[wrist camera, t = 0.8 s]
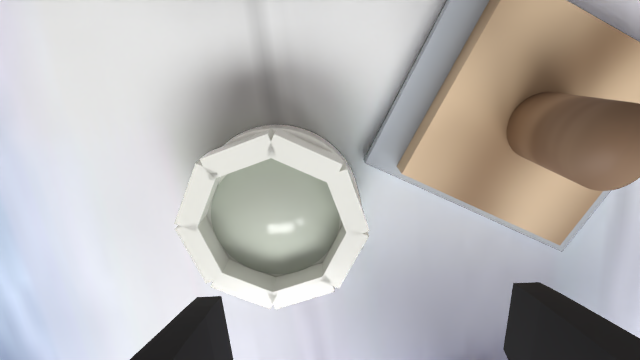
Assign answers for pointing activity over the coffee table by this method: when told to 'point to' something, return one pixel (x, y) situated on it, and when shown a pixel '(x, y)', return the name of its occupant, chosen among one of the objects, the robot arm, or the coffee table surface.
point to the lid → (534, 117)
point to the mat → (419, 94)
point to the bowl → (273, 216)
